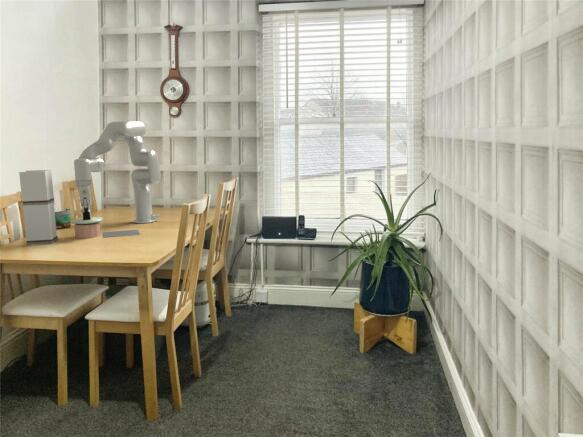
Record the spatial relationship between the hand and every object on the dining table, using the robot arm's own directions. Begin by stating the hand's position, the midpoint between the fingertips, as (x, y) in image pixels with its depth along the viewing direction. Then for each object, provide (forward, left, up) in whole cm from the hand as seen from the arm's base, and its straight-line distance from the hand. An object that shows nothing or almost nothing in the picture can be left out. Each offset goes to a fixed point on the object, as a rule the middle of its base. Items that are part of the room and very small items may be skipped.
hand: (86, 218), depth 269 cm
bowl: (0, 0, -9) cm, 9 cm away
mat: (-16, +1, -9) cm, 18 cm away
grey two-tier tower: (+21, +4, -10) cm, 24 cm away
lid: (0, 0, -1) cm, 1 cm away
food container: (+12, -36, -10) cm, 39 cm away
